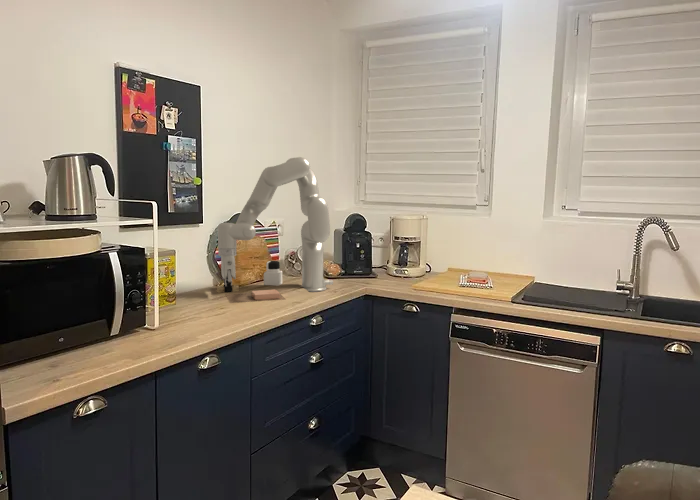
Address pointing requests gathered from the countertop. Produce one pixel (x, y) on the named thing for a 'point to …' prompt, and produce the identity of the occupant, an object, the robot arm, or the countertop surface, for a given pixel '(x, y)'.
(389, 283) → the countertop surface
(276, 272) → the medicine bottle
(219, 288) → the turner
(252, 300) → the board
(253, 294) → the tile
